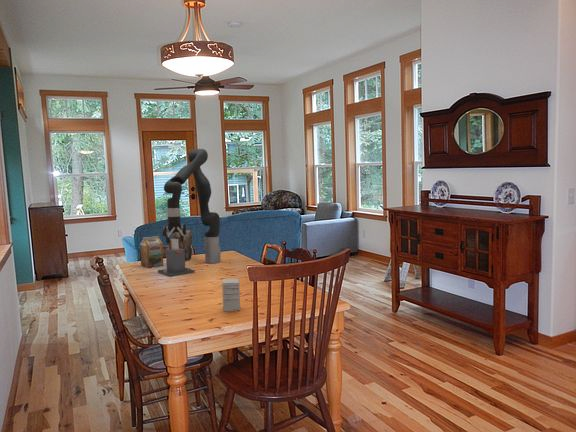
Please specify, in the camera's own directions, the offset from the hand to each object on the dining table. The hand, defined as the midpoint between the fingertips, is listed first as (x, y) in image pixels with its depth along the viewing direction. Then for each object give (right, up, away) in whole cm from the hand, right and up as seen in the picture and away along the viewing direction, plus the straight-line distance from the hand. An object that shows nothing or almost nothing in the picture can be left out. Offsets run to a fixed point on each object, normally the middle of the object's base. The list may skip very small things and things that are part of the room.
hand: (174, 242), depth 285 cm
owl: (-5, -14, +44) cm, 46 cm away
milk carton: (-20, -17, +24) cm, 35 cm away
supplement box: (+43, -25, -75) cm, 90 cm away
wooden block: (-3, -17, +20) cm, 26 cm away
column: (0, -16, +2) cm, 16 cm away
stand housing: (0, -18, +2) cm, 18 cm away
